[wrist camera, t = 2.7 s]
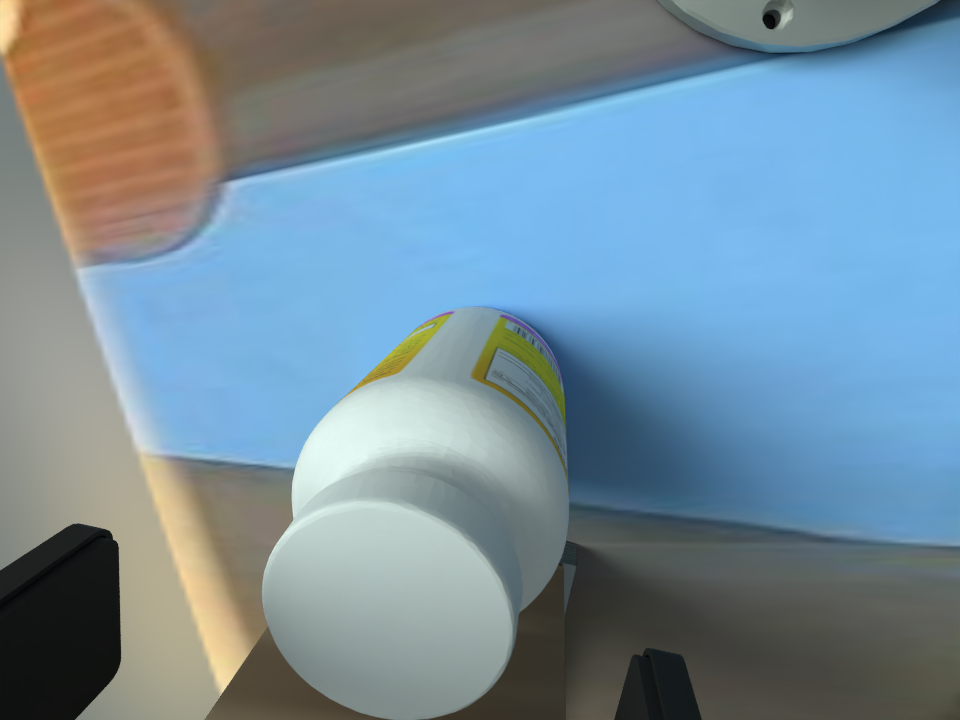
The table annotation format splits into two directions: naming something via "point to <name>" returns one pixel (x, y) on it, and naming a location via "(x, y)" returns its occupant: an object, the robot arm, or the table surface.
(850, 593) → the table surface
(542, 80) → the table surface
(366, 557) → the supplement bottle
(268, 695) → the brown wooden block
